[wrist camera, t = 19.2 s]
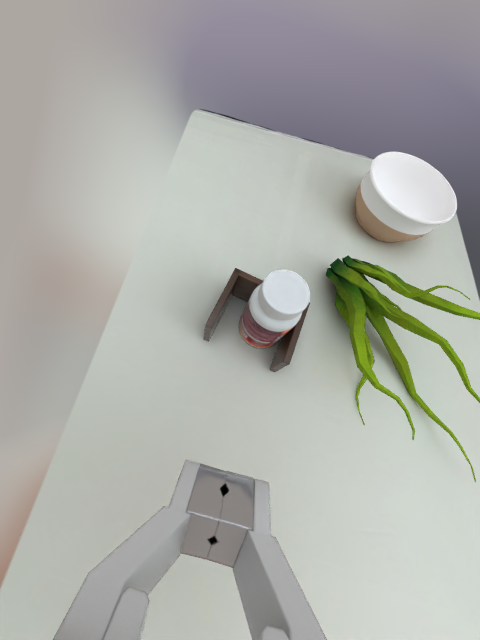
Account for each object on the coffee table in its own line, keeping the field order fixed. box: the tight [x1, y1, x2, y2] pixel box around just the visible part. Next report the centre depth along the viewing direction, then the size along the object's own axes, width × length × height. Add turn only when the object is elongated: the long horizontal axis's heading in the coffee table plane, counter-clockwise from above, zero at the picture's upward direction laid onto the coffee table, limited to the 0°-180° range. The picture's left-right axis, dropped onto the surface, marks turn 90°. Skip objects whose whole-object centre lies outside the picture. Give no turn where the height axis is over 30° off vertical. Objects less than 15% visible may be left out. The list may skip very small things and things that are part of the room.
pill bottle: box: [239, 269, 310, 348], centre depth 30 cm, size 6×6×11 cm
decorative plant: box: [326, 256, 480, 482], centre depth 30 cm, size 18×30×15 cm, turn 177°
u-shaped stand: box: [204, 268, 310, 372], centre depth 32 cm, size 11×9×6 cm
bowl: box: [356, 152, 457, 242], centre depth 44 cm, size 16×16×8 cm
